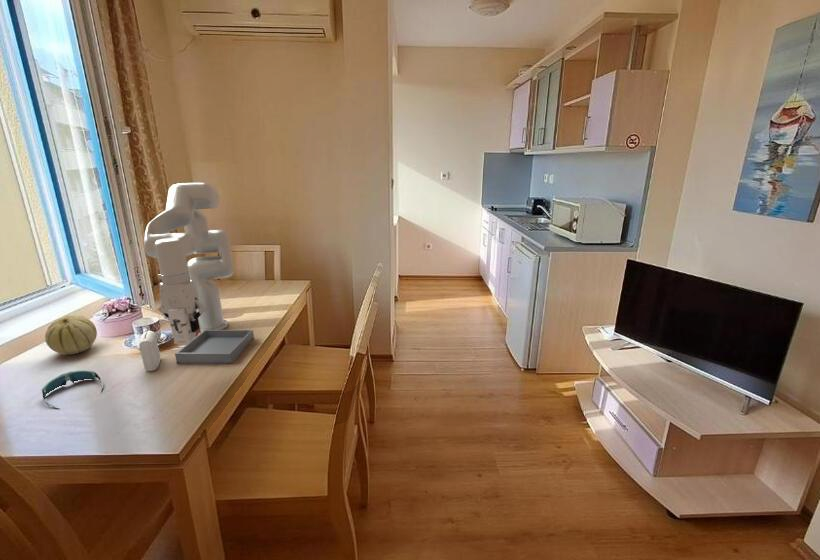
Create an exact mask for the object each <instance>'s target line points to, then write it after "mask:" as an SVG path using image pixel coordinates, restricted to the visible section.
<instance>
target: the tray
mask: <svg viewBox="0 0 820 560" xmlns="http://www.w3.org/2000/svg"><path fill="white" fill-rule="evenodd" d="M254 340H255V336H254V329H222V330H204V331H202V332H200V333H199V334H198V335H197V336H196V338H195V339H194V340H193V341H192V342H191V343H190V344H185V345H184V346H182V347H181V348H180V349H179V350H177V351H176V352H174V356H175V357H174V358H175V360H176V364H185V365H186V364H189V365H190V364H196V365H197V364H201V365H203V364H206V365H207V364H208V365H209V364H213V365H218V364H219V365H223V364H224V365H232V364H233V363H234V362H235V361H236V360H237V359H238V357H239V356H240V355H241V354H242V353H243V352H244V351H245V350H246V348H247V347H248V346H249V345H250V344H251V343H252V342H253V341H254Z"/></svg>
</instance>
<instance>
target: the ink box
mask: <svg viewBox="0 0 820 560" xmlns="http://www.w3.org/2000/svg"><path fill="white" fill-rule="evenodd" d="M193 315H194V314H193ZM168 316H169V319H168V321H169V320H170V321H169V323H170V328H171V333H172V338H173V341H174V344H175V345H183V344H185V345H186V344H190V343H191V342H192V341H193V340H194V339H195V338H196V336H197V335H199V334H200V333H201V330H200V325H199V329H198V330H197V331H196V332H192V330H191V325H190V321H191V319H190V317H189V315H188V314H186V312H185V309H170V310H168ZM198 321H199V320H198Z"/></svg>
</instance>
